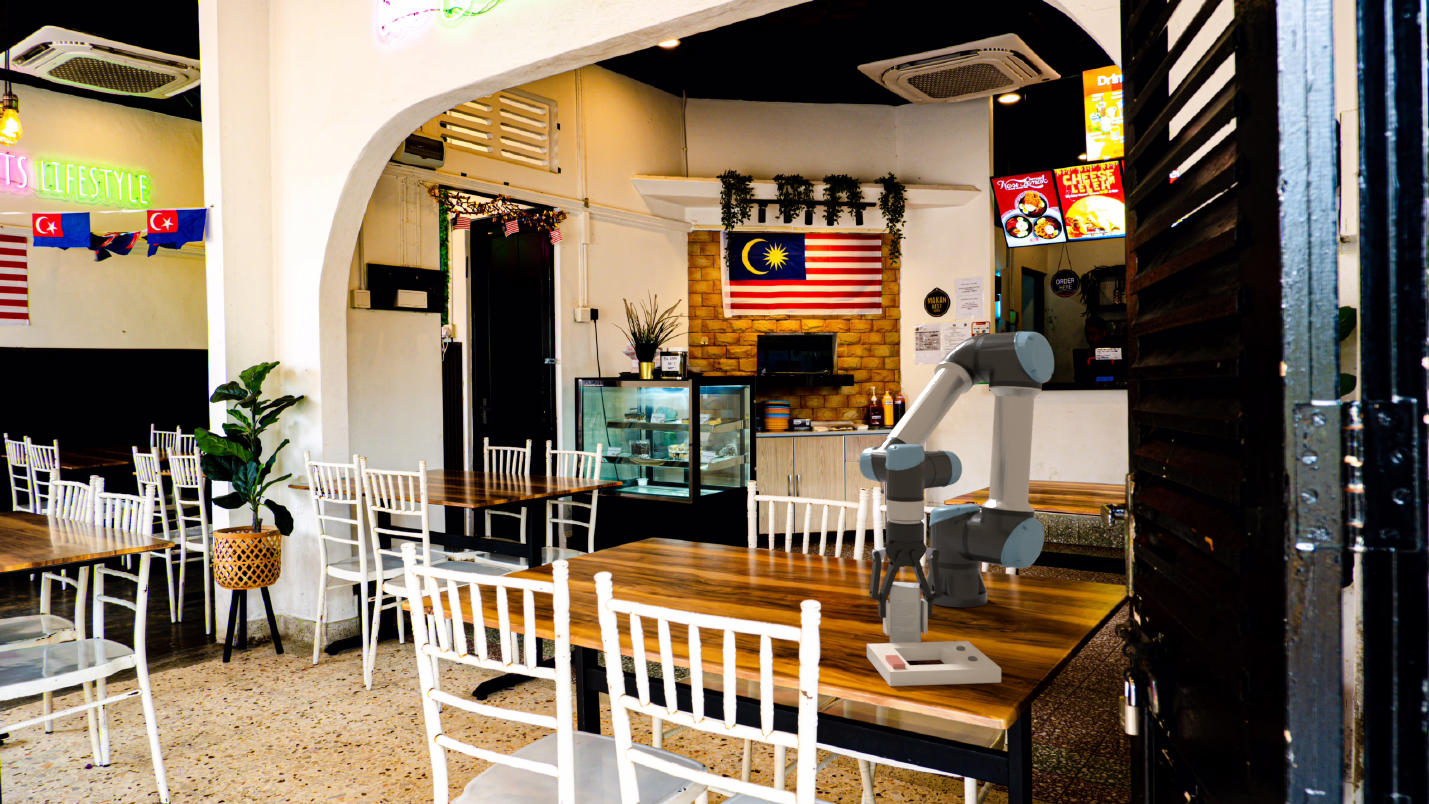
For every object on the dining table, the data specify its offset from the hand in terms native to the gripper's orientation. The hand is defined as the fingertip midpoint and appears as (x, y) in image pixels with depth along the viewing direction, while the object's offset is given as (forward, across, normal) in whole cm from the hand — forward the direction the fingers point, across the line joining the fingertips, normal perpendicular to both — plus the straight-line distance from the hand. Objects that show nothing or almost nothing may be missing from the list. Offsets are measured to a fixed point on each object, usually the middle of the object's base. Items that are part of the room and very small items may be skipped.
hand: (905, 632), depth 174 cm
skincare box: (+2, 0, 0) cm, 2 cm away
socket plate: (+2, 0, +16) cm, 16 cm away
